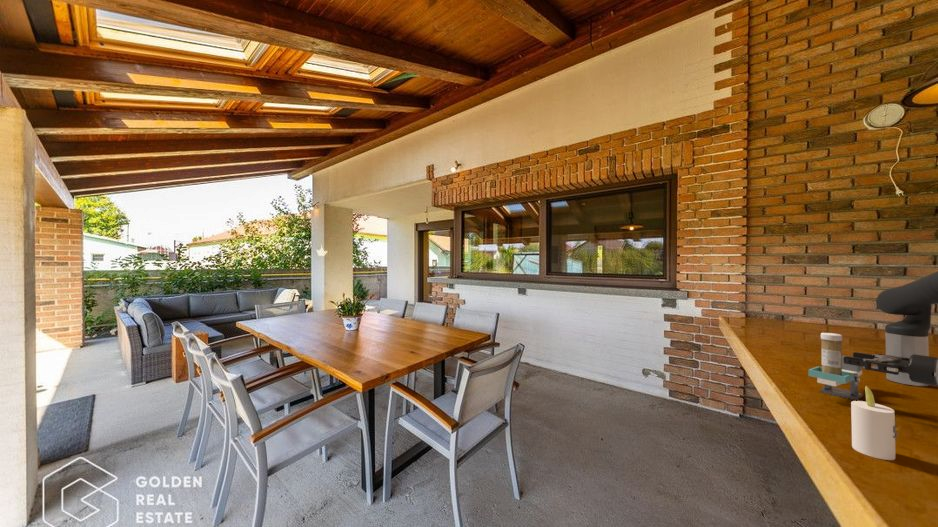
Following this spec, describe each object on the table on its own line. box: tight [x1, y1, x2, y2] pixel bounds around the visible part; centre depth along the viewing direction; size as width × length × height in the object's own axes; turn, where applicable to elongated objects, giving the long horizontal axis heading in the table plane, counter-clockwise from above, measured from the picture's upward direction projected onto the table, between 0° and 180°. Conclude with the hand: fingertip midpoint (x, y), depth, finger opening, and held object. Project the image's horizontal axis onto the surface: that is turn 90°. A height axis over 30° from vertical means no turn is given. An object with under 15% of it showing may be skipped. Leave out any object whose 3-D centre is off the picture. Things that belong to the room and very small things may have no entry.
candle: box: [850, 385, 898, 461], centre depth 75 cm, size 6×6×15 cm
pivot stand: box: [819, 373, 864, 401], centre depth 107 cm, size 6×8×8 cm
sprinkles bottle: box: [820, 332, 843, 376], centre depth 103 cm, size 5×5×14 cm
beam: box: [807, 355, 863, 388], centre depth 107 cm, size 26×8×6 cm, turn 118°
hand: (848, 357), depth 100 cm, fingers open, 8 cm apart
